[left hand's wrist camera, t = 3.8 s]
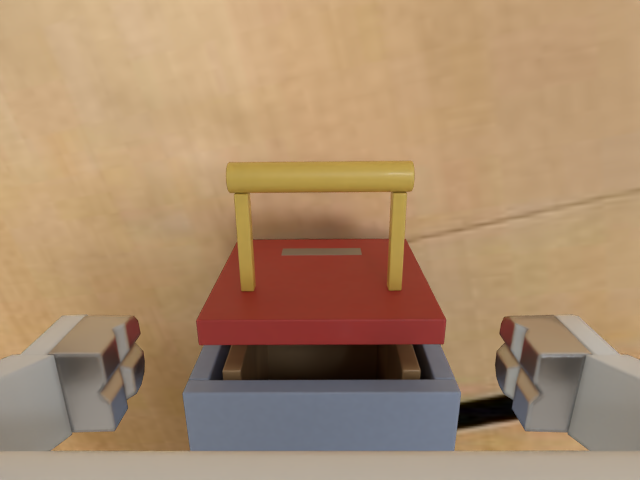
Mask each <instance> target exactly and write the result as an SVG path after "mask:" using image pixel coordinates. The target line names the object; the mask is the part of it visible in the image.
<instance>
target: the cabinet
mask: <svg viewBox="0 0 640 480" xmlns="http://www.w3.org/2000/svg"><path fill="white" fill-rule="evenodd" d="M412 345H413V348H414V352H415V355H416V358H417V361H418V364H419V367H420V370H421V375H420V380H223V372H222V371H223V368H224V365H225V362H226V359H227V357H228V354H229V351H230V348H231V345H204V346H203V348H202V351H201V353H200V355H199V357H198V360H197V362H196V364H195V366H194V369H193V371H192V373H191V375H190V378H189V381H188V382H187V384H186V387H185V389H184V391H183V401H184V408H185V416H186V423H187V431H188V438H189V445H190V451H454V448H455V440H456V431H457V423H458V414H459V406H460V397H461V392H460V389H459V387H458V385H457V382H456V380H455V377H454V375H453V373H452V371H451V368H450V366H449V364H448V361H447V359H446V357H445V354H444V352H443V350H442V348H441V345H440V344H412Z"/></svg>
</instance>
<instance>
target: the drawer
mask: <svg viewBox="0 0 640 480" xmlns="http://www.w3.org/2000/svg"><path fill="white" fill-rule="evenodd" d="M226 183H227V189H228V191H229V192H230V193H235V194H234V203H235V216H236V230H237V243H236V245H235V247H234V249H233V251H232V253H231V255H230V256H229V258H228V260H227V262H226V264H225V266H224V268H223V270H222V272H221V274H220V276H219V278H218V280H217V282H216V283H215V285H214V287H213V289H212V291H211V293H210V295H209V297H208V299H207V301H206V303H205V305H204V307H203V309H202V310H201V312H200V314H199V316H198V318H197V320H196V324H197V333H198V341H199V345H231V348H230V351H229V354H228V357H227V359H226V362H225V365H224V368H223V371H222V372H223V380H420V375H421V370H420V367H419V364H418V361H417V358H416V355H415V352H414V348H413V345H412V344H444V338H445V328H446V318H445V316H444V314H443V312H442V310H441V308H440V306H439V304H438V302H437V300H436V298H435V296H434V294H433V292H432V290H431V288H430V286H429V284H428V282H427V280H426V278H425V276H424V274H423V272H422V270H421V268H420V266H419V265H418V263H417V261H416V259H415V257H414V255H413V253H412V251H411V249H410V247H409V245H408V243H407V241H406V239H404V238H405V220H406V203H407V193H406V192H411V191H412V189H413V186H414V165H413V162H412V161H342V162H229V163H228V164H227V168H226ZM297 192H391V205H390V227H389V239H295V240H253V235H252V219H251V203H250V193H297Z"/></svg>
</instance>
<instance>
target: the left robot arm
mask: <svg viewBox="0 0 640 480" xmlns="http://www.w3.org/2000/svg"><path fill="white" fill-rule="evenodd" d="M139 335H140V329H139V323H138V320H137V319H136V318H135V317H134V316H112V315H65V316H61V317H60V318H59V319H58V320H57V321H56V322H55V323H54V324H53V325H52V326H51V327H49V328H48V329H47V330H46V331H45V332H44V333H43V334H42V335H41V336H40V337H39V338H37V339H36V340H35V341H34V342H33V343H32V344H31V345H30V346H29V347H28V348H27V349H26V350H24V351H23V352H22V353H21V354H20V355H10V356H8V357H6V358H3V359H1V360H0V480H640V360H639V359H637V358H634V357H632V356H630V355H620V354H619V353H618V352H617V351H616V350H615V349H613V348H612V347H611V346H610V345H609V344H608V343H607V342H606V341H605V340H604V339H603V338H602V337H600V336H599V335H598V334H597V333H596V332H595V331H594V330H593V329H592V328H591V327H590V326H589V325H587V324H586V323H585V322H584V321H583V320H582V319H581V318H580V317H579V316H576V315H535V316H507V317H504V319H503V321H502V323H501V328H500V335H501V337H502V338H503V340H504V342H505V343H504V344H503V345H502V346H501V347H500V348H499V349H498V350H497V353H496V362H495V367H496V377H497V380H498V383H499V386H500V388H501V390H502V392H503V393H504V394H505V395H506V396H508V397H510V398H511V399H513V405H512V409H513V411H514V412H515V414H516V416H517V418H518V419H519V421H520V423H521V424H522V426H523V428H524V430H525V431H537V432H568V435H570V436H571V437H572V438H574V439H575V440H576V441H577V442H579V443H580V444H581V445H583V446H584V447H585V448H587V449H588V450H589V451H51V450H52V449H53V448H55V447H56V446H57V445H59V444H60V443H61V442H63V441H64V440H65V439H67V438H68V437H69V436H71V435H72V432H102V431H115V430H116V428H117V426H118V424H119V423H120V421H121V419H122V418H123V416H124V414H125V412H126V411H127V409H128V405H127V399H129V398H130V397H132V396H134V395H135V394H136V393H137V392H138V390H139V388H140V386H141V384H142V380H143V375H144V367H145V360H144V353H143V350H142V349H141V348H140V347H139V346H138V345H137V344H136V343H135V342H136V340H137V338H138V337H139Z"/></svg>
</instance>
